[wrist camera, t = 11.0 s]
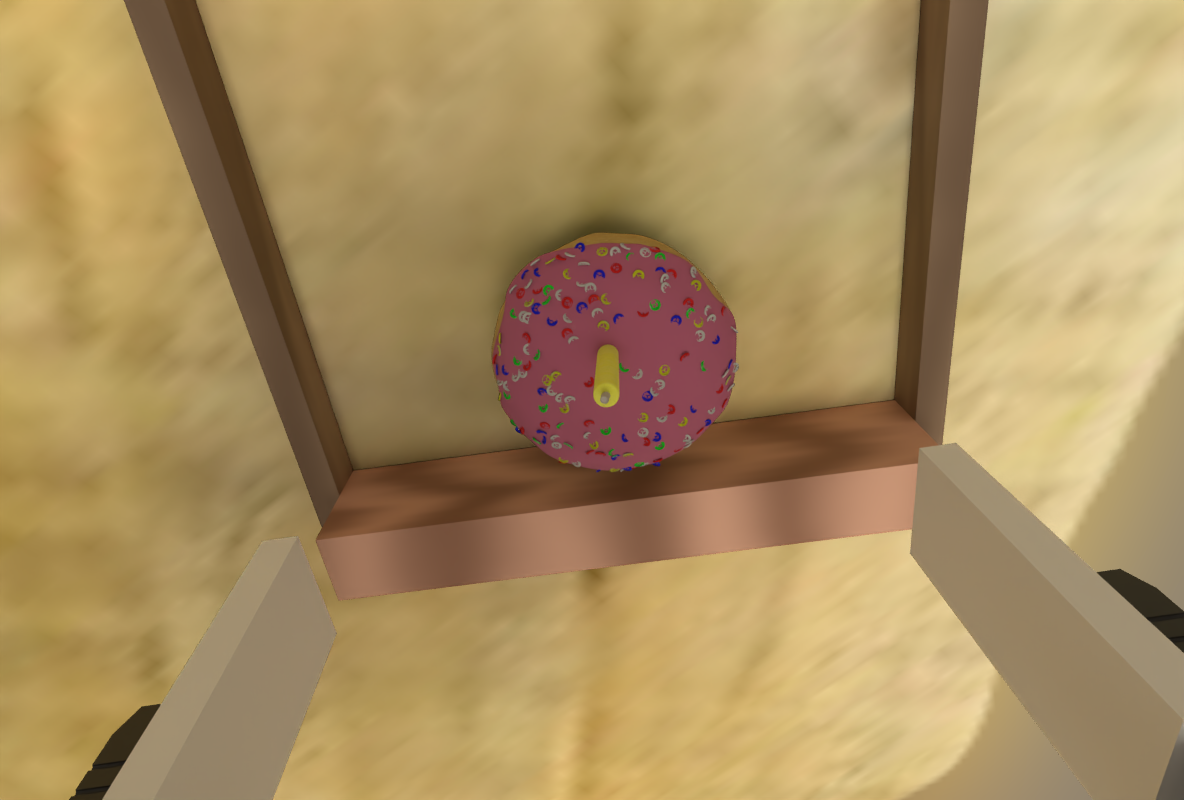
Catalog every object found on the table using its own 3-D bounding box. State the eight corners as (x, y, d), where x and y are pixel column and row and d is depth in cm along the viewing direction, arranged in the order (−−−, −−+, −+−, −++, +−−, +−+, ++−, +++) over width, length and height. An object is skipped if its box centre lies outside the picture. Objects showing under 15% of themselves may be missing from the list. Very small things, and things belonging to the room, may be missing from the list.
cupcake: (470, 251, 26) (395, 374, 16) (681, 177, 25) (758, 253, 15) (547, 436, 30) (530, 640, 19) (736, 377, 29) (831, 557, 18)
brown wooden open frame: (346, 528, 32) (309, 604, 27) (96, -173, 21) (-37, -240, 16) (917, 455, 31) (976, 520, 27) (984, -318, 20) (1106, -432, 15)
